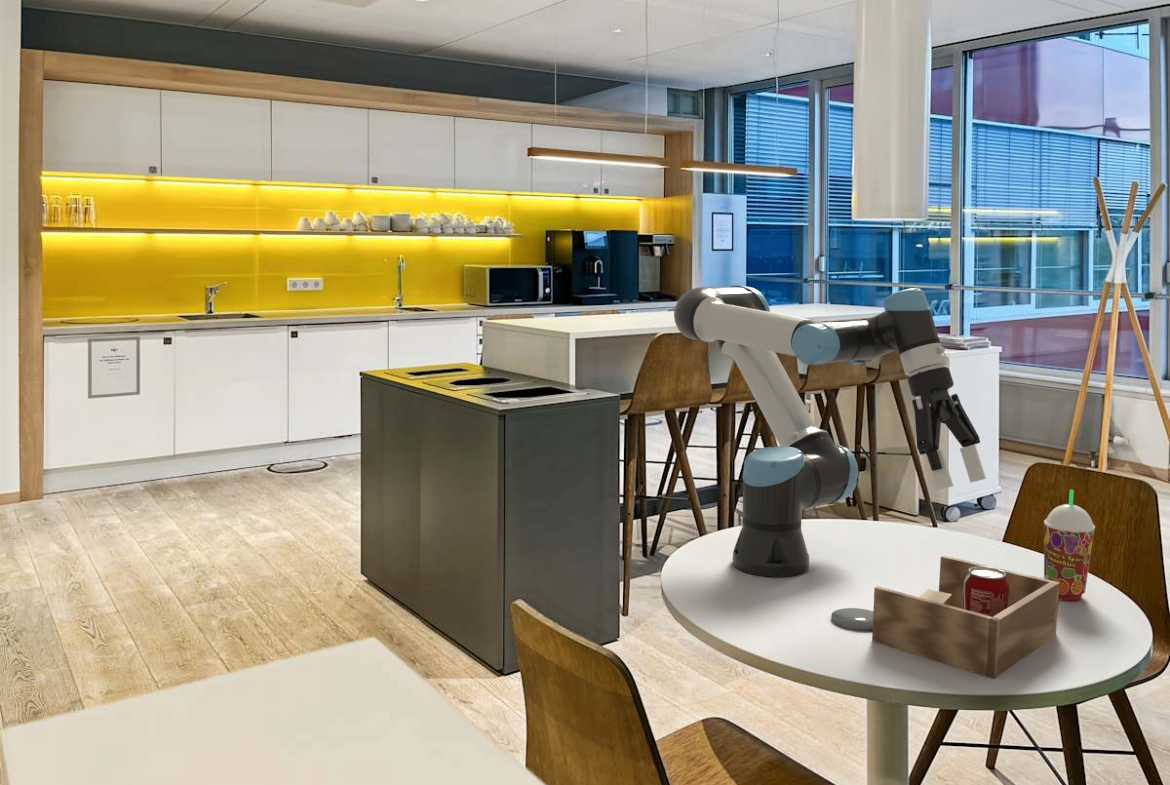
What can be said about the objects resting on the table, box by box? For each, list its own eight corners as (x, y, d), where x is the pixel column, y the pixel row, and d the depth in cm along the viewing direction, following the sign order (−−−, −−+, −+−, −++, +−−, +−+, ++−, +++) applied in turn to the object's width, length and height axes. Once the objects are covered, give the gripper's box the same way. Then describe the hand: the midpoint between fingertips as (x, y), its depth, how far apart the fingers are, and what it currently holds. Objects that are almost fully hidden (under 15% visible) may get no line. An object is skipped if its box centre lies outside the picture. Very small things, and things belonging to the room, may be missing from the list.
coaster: (821, 620, 169) (821, 617, 169) (849, 607, 175) (849, 604, 175) (868, 635, 162) (868, 631, 162) (895, 621, 169) (895, 617, 168)
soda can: (1009, 653, 155) (1014, 580, 154) (964, 649, 157) (968, 577, 155) (1000, 636, 162) (1005, 566, 160) (957, 633, 163) (961, 563, 161)
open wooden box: (872, 640, 160) (874, 587, 159) (940, 603, 177) (943, 555, 175) (993, 678, 146) (997, 620, 145) (1055, 634, 163) (1059, 582, 161)
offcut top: (916, 616, 163) (917, 599, 163) (927, 606, 168) (928, 589, 168) (941, 622, 161) (942, 604, 161) (951, 611, 166) (952, 594, 166)
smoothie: (1035, 598, 180) (1042, 491, 177) (1043, 585, 186) (1050, 482, 183) (1086, 607, 175) (1094, 498, 172) (1092, 593, 182) (1100, 488, 179)
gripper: (913, 366, 168) (950, 486, 164) (975, 364, 186) (1010, 473, 182) (875, 379, 173) (910, 496, 170) (938, 376, 191) (972, 482, 187)
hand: (962, 484), depth 176 cm, fingers open, 13 cm apart
